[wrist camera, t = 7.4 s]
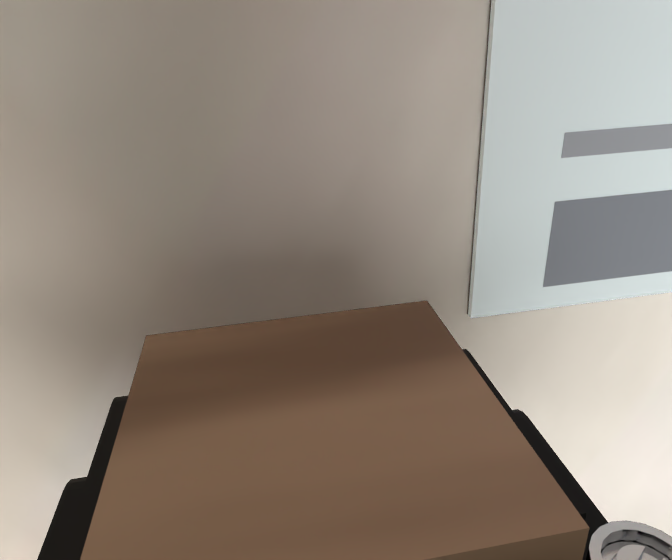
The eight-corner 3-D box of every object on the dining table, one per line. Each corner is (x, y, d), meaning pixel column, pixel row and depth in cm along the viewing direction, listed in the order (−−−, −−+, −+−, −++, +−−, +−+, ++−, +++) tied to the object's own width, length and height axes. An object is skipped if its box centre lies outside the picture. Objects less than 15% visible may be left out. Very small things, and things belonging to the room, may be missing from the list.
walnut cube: (146, 335, 9) (59, 630, 5) (426, 300, 10) (589, 527, 5) (193, 537, 11) (165, 872, 7) (420, 497, 12) (532, 776, 7)
